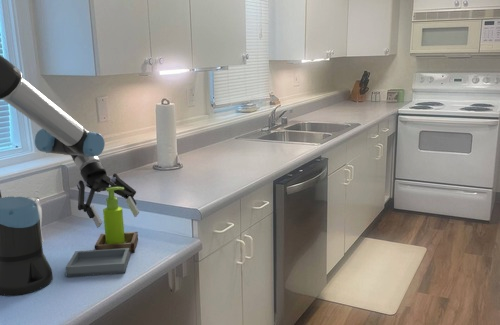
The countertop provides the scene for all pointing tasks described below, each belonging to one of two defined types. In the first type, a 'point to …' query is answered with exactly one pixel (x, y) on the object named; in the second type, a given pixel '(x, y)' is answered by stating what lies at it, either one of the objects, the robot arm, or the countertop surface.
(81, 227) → the countertop surface
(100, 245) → the holder collar
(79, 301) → the countertop surface
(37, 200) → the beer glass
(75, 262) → the tray
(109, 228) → the soap dispenser
